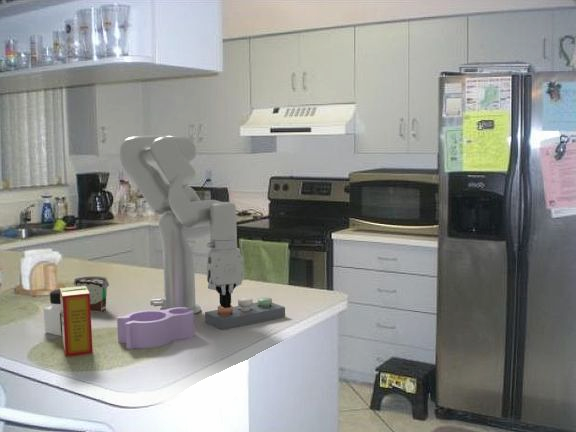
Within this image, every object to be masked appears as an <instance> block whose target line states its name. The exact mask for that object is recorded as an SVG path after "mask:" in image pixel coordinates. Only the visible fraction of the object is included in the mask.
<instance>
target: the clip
mask: <svg viewBox="0 0 576 432" xmlns="http://www.w3.org/2000/svg"><path fill="white" fill-rule="evenodd" d="M116 320H117V321H116V323H117V326H116V327H117V343H119V344H121V343H124V344H125V346H126V350H131V349H134V348H138V349H148V348H149V349H150V348H157V347H161V346H165V345H168V344H170V343H171V342H173V341H175V340H176V341H177V340H184V339H185V340H186V339H189V338H192V337H194V336H195V333H196V332H195V314H194V310H190V311H188V308H187V307H176V308H170V309H166V310H160V309H159V310H157V309H149V310H146V309H145V310H139V311H134V312H130V313H128V314H126V315H125V316H118V317H116Z"/></svg>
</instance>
